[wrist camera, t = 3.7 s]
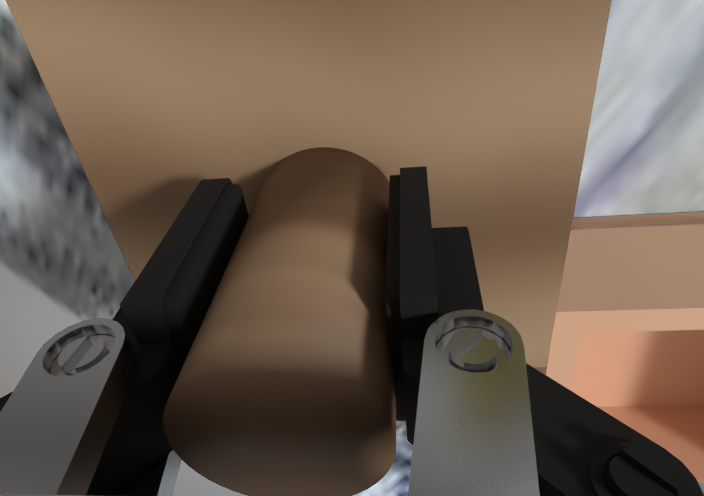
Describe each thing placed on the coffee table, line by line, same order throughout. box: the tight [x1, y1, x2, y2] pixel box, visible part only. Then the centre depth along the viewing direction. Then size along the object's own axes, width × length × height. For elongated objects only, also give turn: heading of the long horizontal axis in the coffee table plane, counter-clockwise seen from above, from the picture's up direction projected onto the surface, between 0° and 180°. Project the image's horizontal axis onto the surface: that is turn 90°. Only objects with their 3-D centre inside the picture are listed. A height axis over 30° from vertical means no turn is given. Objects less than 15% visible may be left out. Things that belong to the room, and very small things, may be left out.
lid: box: [6, 0, 611, 496], centre depth 10 cm, size 11×11×7 cm
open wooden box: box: [533, 212, 704, 484], centre depth 18 cm, size 10×10×5 cm
